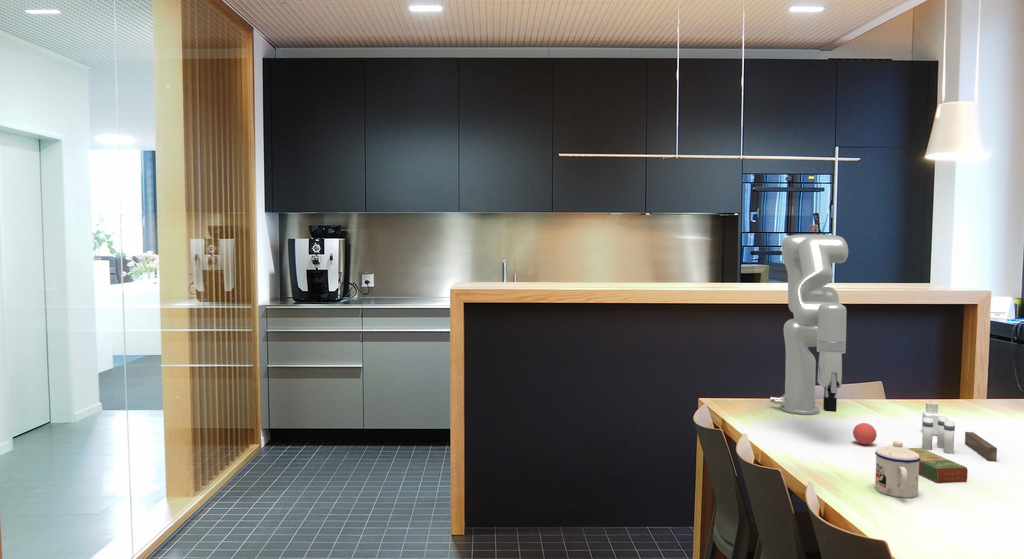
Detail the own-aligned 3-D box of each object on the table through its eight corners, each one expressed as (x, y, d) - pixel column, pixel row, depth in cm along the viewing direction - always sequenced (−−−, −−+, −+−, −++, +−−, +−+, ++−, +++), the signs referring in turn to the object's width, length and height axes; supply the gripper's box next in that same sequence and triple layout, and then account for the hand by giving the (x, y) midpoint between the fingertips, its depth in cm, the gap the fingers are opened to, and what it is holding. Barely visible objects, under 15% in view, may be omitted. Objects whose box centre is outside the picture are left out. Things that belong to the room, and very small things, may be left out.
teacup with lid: (870, 483, 166) (872, 434, 165) (913, 487, 163) (915, 438, 163) (881, 500, 154) (882, 449, 154) (927, 505, 152) (929, 452, 151)
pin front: (923, 449, 193) (924, 419, 193) (920, 446, 196) (921, 417, 195) (933, 450, 192) (934, 419, 192) (930, 447, 195) (931, 417, 194)
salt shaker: (940, 436, 207) (942, 404, 206) (926, 435, 207) (927, 404, 207) (935, 432, 210) (936, 401, 210) (921, 431, 211) (922, 401, 211)
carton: (920, 462, 183) (921, 446, 183) (968, 484, 167) (969, 466, 167) (891, 463, 182) (892, 447, 182) (936, 485, 166) (937, 467, 166)
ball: (855, 446, 196) (855, 425, 196) (850, 440, 202) (851, 420, 201) (878, 448, 194) (879, 426, 194) (873, 442, 200) (873, 421, 200)
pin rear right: (944, 453, 190) (946, 422, 189) (941, 450, 192) (942, 420, 192) (955, 454, 189) (956, 423, 188) (951, 451, 191) (953, 421, 191)
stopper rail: (987, 460, 183) (988, 447, 183) (964, 443, 199) (965, 431, 199) (996, 461, 183) (997, 448, 183) (972, 444, 198) (973, 432, 198)
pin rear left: (938, 448, 194) (939, 418, 194) (935, 445, 197) (936, 416, 196) (948, 448, 194) (949, 418, 193) (945, 446, 196) (946, 416, 196)
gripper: (812, 343, 207) (811, 404, 207) (821, 349, 192) (820, 415, 193) (840, 344, 205) (838, 406, 206) (851, 350, 191) (849, 417, 191)
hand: (829, 410), depth 199 cm, fingers closed
